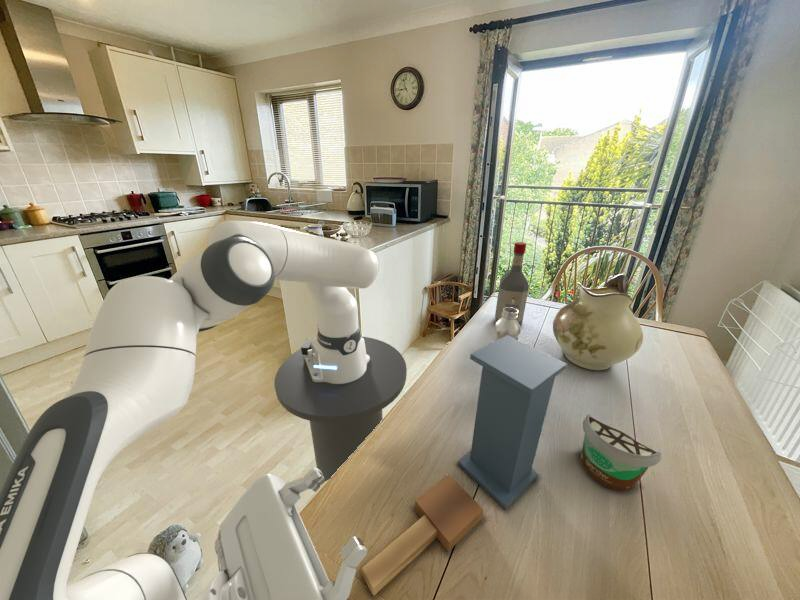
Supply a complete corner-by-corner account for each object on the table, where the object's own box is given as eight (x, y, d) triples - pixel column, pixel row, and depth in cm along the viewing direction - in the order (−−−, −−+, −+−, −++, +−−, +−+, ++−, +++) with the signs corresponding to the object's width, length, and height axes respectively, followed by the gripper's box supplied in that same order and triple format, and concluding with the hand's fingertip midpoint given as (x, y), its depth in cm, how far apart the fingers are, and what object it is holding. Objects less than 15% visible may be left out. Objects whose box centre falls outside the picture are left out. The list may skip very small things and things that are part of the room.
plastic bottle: (509, 384, 83) (521, 318, 75) (484, 375, 87) (493, 311, 78) (515, 371, 88) (527, 308, 80) (491, 364, 92) (500, 302, 83)
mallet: (353, 559, 46) (352, 549, 45) (447, 482, 58) (448, 473, 57) (383, 616, 41) (383, 606, 40) (481, 518, 52) (483, 509, 51)
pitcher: (558, 376, 86) (579, 294, 76) (538, 334, 108) (553, 265, 97) (647, 386, 83) (682, 301, 73) (609, 340, 104) (632, 269, 94)
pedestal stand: (457, 464, 61) (470, 353, 51) (489, 439, 67) (507, 335, 56) (505, 509, 53) (532, 389, 43) (537, 477, 59) (567, 363, 48)
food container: (562, 463, 61) (573, 425, 57) (575, 446, 65) (587, 410, 61) (634, 512, 53) (654, 472, 49) (645, 490, 56) (665, 451, 52)
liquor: (522, 330, 110) (537, 247, 98) (495, 327, 112) (507, 245, 100) (519, 318, 118) (533, 241, 106) (494, 315, 120) (505, 239, 108)
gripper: (232, 537, 39) (315, 450, 43) (287, 766, 24) (407, 601, 28) (191, 527, 35) (287, 432, 39) (228, 792, 20) (377, 596, 24)
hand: (338, 504), depth 34 cm, fingers open, 8 cm apart
